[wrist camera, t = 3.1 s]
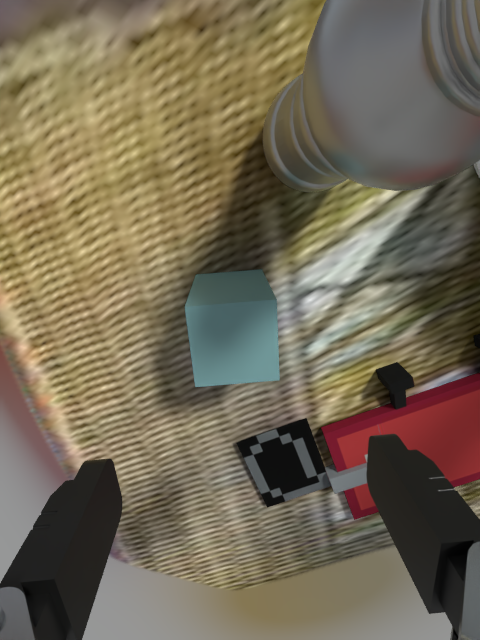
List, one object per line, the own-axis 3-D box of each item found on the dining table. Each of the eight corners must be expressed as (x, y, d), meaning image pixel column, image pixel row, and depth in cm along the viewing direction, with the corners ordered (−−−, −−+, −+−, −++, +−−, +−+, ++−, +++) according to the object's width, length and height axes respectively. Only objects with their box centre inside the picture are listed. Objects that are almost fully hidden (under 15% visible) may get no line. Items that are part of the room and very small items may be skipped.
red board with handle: (228, 419, 31) (280, 530, 36) (229, 441, 28) (285, 556, 34) (563, 300, 29) (568, 435, 34) (598, 311, 26) (597, 456, 31)
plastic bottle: (374, 144, 24) (947, -47, 5) (297, 213, 25) (516, 270, 6) (317, 58, 22) (882, -761, 3) (237, 137, 23) (294, -101, 4)
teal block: (196, 274, 26) (184, 306, 19) (261, 269, 26) (276, 299, 19) (203, 335, 28) (195, 387, 20) (264, 330, 28) (279, 380, 21)
